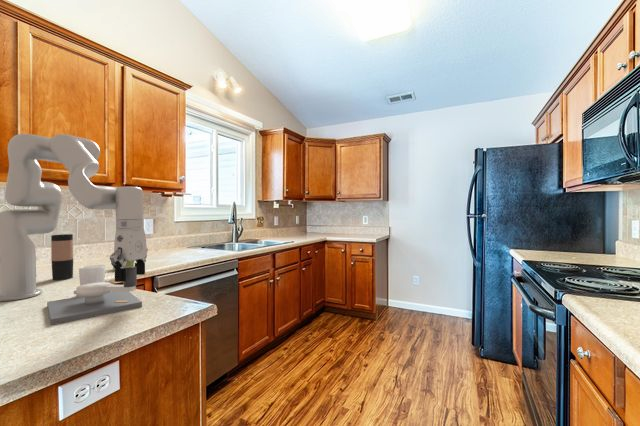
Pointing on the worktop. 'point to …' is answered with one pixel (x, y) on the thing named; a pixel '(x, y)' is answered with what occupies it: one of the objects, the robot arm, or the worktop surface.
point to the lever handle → (109, 285)
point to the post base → (91, 306)
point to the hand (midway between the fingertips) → (130, 277)
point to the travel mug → (62, 256)
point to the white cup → (92, 274)
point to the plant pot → (129, 263)
